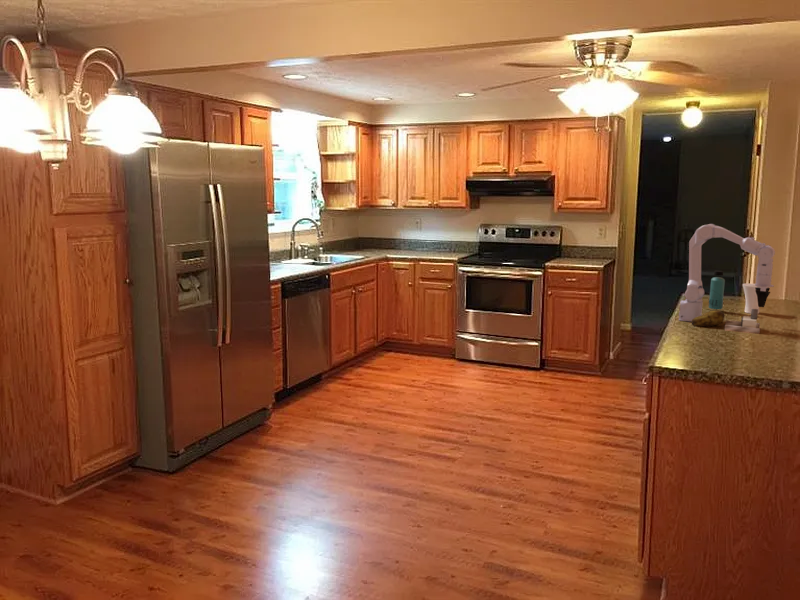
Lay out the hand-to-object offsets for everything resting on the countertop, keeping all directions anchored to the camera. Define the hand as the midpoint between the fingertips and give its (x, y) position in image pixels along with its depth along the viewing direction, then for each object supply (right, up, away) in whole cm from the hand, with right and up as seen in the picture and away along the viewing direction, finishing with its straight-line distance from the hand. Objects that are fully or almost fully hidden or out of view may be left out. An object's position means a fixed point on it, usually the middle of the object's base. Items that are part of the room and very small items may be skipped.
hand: (760, 305), depth 288 cm
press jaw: (-8, -10, -4) cm, 14 cm away
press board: (-10, -11, -3) cm, 15 cm away
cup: (+16, -4, +38) cm, 41 cm away
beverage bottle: (-1, -3, +41) cm, 41 cm away
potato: (-22, -10, +3) cm, 24 cm away
